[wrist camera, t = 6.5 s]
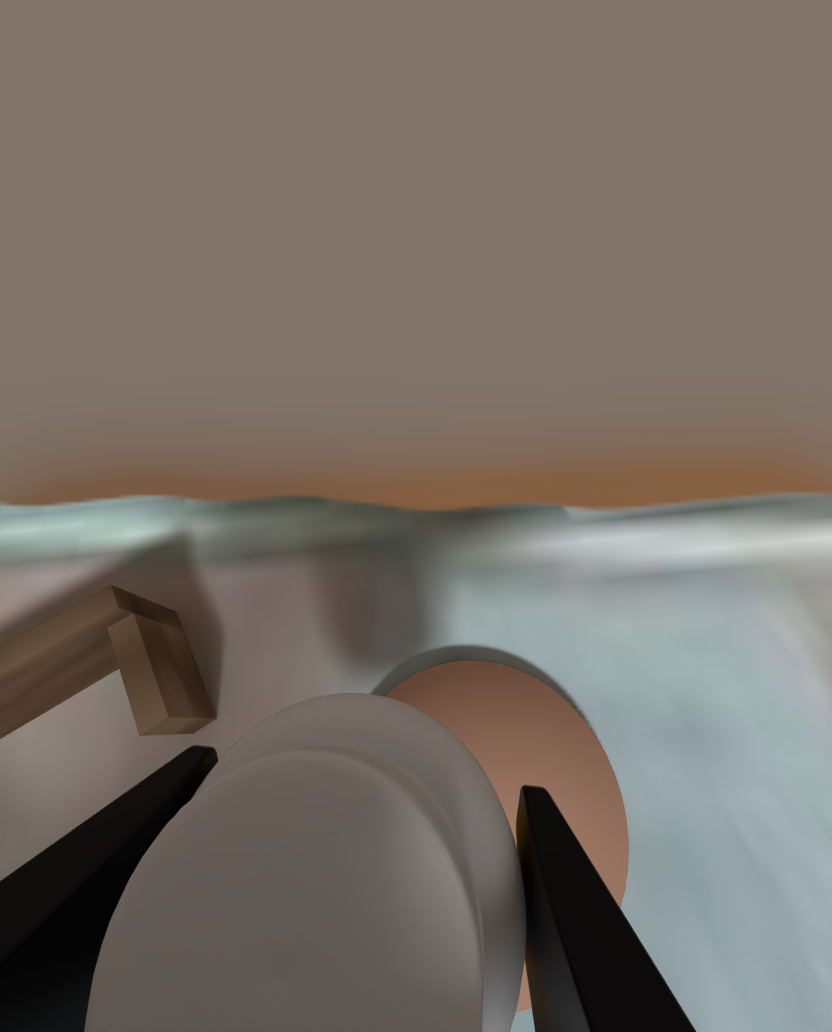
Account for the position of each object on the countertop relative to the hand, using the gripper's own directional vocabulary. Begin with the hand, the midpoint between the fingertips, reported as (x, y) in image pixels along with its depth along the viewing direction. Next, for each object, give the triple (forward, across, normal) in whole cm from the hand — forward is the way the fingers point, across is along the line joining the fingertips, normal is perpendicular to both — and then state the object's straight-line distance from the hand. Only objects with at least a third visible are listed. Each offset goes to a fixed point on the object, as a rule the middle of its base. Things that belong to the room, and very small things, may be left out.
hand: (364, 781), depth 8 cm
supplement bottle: (+4, 0, +6) cm, 7 cm away
